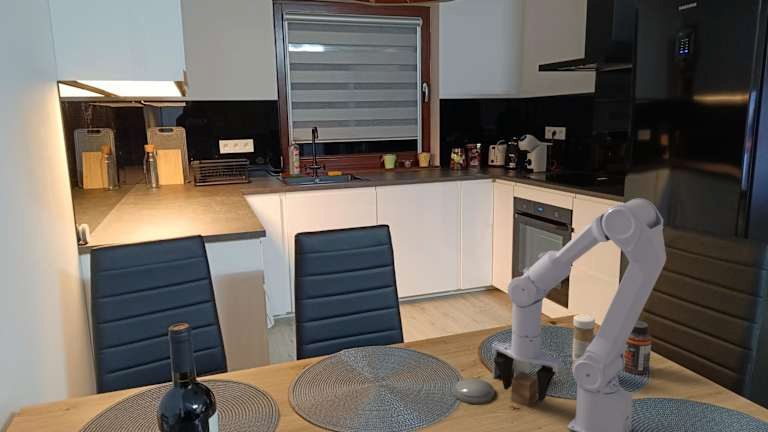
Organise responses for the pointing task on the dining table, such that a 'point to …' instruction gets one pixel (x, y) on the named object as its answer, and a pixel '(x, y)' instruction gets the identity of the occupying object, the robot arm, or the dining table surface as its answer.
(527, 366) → the cover
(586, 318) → the sprinkles bottle
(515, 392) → the block
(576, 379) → the robot arm
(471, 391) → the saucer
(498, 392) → the dining table surface
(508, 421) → the dining table surface
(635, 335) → the supplement bottle
